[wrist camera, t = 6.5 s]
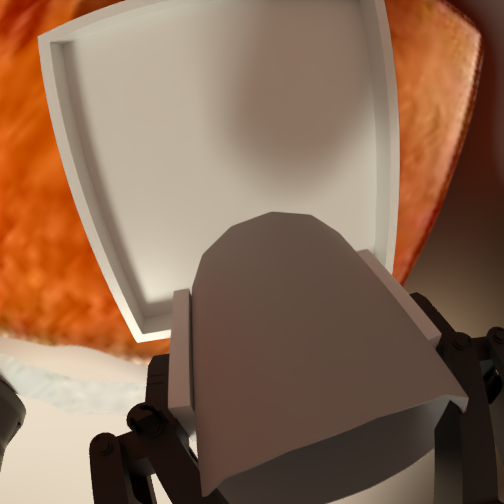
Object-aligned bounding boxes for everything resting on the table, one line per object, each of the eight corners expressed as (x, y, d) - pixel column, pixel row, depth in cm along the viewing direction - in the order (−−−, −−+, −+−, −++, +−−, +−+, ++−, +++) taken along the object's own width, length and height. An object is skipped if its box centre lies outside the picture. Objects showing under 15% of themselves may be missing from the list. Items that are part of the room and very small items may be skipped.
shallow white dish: (142, 309, 27) (137, 342, 23) (64, 44, 15) (37, 36, 11) (368, 260, 28) (390, 285, 24) (352, -2, 16) (380, -15, 12)
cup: (339, 187, 13) (503, 339, 5) (359, 313, 18) (440, 452, 9) (163, 252, 14) (139, 475, 5) (227, 362, 18) (254, 521, 9)
